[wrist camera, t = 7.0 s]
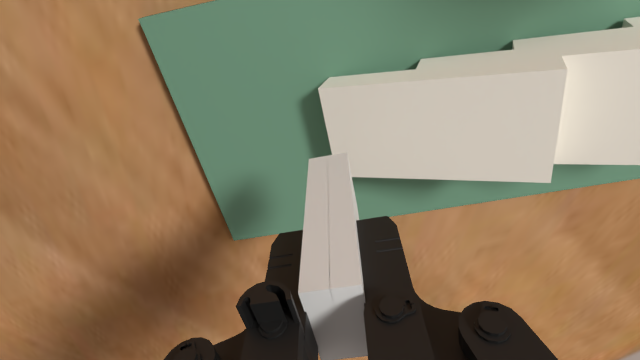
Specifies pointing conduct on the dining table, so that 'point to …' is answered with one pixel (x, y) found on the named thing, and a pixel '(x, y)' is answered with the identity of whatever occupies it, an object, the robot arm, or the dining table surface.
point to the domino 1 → (449, 121)
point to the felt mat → (331, 61)
